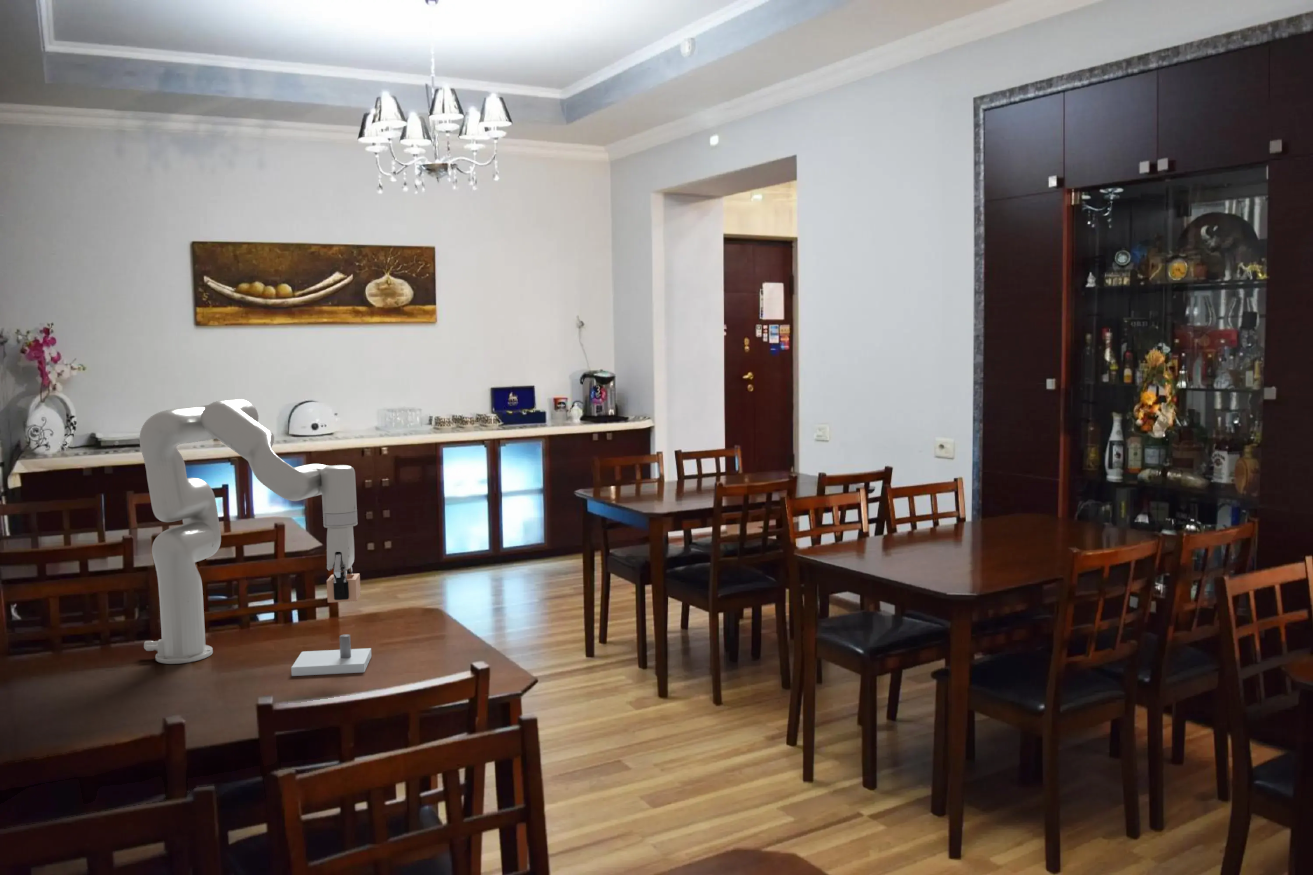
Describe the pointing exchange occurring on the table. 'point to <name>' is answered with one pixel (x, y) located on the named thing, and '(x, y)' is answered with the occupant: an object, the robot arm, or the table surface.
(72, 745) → the table surface
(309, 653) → the post plate
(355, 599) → the collar
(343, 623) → the table surface
